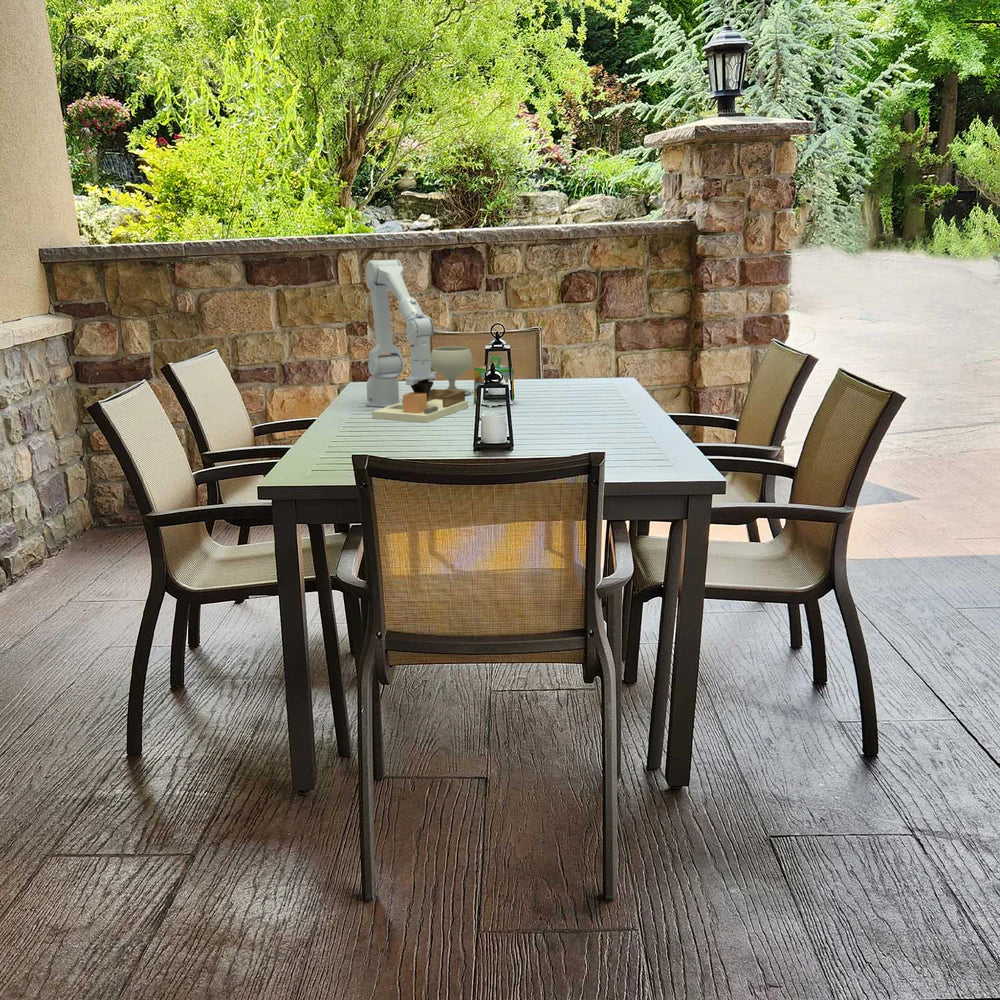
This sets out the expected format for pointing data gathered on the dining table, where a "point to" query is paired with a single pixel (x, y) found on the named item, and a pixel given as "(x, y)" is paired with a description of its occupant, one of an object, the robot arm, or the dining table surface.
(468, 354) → the chalice
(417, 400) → the cube
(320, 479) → the dining table surface
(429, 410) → the short rod
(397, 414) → the deck
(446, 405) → the cubby
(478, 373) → the chalk box
